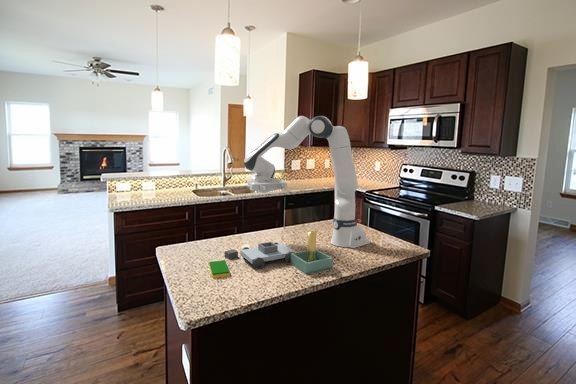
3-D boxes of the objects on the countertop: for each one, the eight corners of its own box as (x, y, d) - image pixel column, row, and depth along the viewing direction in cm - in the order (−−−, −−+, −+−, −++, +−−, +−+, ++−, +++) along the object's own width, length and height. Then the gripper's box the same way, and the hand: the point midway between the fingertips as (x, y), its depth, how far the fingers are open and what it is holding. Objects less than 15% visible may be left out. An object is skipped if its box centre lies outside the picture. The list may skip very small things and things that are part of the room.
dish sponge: (225, 265, 147) (225, 259, 147) (230, 277, 134) (229, 271, 134) (209, 266, 145) (209, 261, 145) (212, 279, 132) (212, 273, 132)
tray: (315, 259, 155) (315, 248, 154) (332, 268, 143) (332, 258, 142) (290, 263, 148) (290, 253, 147) (306, 274, 136) (306, 263, 136)
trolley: (280, 251, 165) (280, 236, 164) (296, 261, 151) (296, 246, 150) (239, 258, 155) (239, 243, 154) (252, 270, 140) (252, 253, 139)
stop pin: (312, 262, 148) (313, 230, 145) (316, 264, 145) (317, 232, 142) (305, 263, 146) (306, 231, 144) (310, 266, 143) (310, 233, 141)
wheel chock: (233, 255, 159) (233, 249, 159) (237, 257, 156) (237, 251, 156) (224, 257, 156) (224, 251, 156) (229, 259, 153) (228, 253, 153)
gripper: (245, 179, 170) (255, 182, 158) (280, 177, 180) (292, 180, 168) (245, 191, 171) (255, 195, 159) (279, 189, 181) (292, 192, 169)
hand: (274, 187), depth 164 cm, fingers open, 8 cm apart
